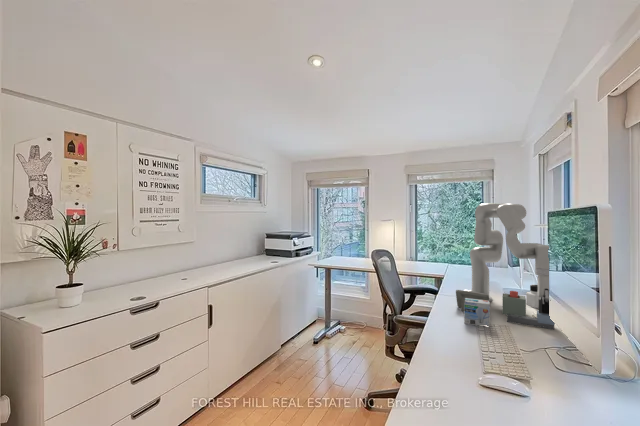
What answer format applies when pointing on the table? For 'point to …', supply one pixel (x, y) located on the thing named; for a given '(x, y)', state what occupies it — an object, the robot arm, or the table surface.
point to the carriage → (543, 315)
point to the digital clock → (467, 294)
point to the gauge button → (514, 294)
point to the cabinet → (514, 305)
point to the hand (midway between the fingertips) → (545, 310)
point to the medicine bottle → (532, 297)
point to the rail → (527, 321)
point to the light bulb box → (476, 312)
